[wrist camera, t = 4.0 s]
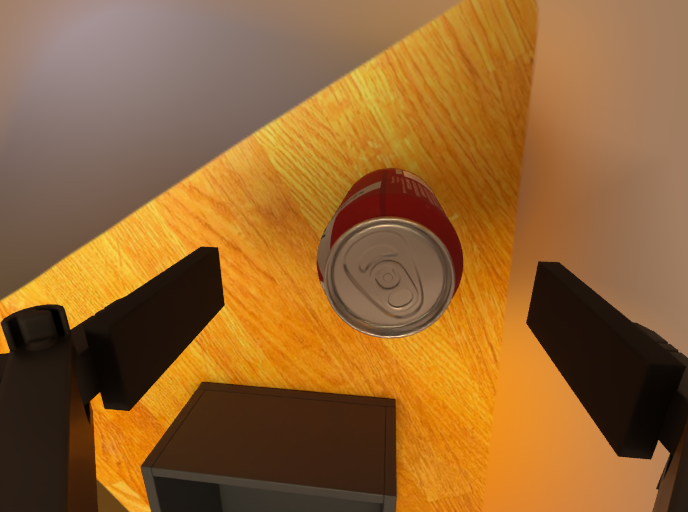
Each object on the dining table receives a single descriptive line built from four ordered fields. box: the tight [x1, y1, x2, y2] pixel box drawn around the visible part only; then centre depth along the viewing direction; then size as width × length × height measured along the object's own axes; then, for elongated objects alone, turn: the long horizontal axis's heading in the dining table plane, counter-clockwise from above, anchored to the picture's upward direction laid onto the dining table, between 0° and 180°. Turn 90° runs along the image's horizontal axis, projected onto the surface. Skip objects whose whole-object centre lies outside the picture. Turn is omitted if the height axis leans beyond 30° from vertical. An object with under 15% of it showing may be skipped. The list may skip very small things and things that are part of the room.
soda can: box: [317, 169, 463, 338], centre depth 21 cm, size 7×7×12 cm
